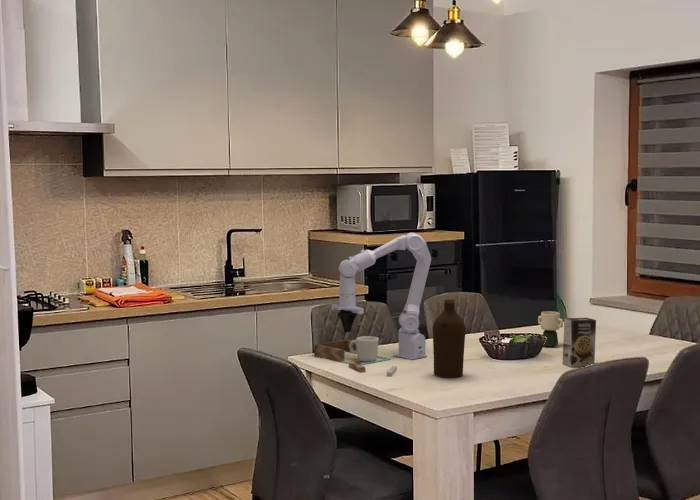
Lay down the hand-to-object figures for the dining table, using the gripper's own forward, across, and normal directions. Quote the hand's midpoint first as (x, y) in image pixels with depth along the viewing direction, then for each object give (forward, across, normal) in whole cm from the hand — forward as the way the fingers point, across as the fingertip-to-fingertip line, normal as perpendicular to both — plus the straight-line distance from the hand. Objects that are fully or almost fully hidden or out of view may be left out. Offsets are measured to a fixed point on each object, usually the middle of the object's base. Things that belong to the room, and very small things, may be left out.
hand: (347, 331), depth 318 cm
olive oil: (+9, +43, +5) cm, 44 cm away
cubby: (+9, -1, 0) cm, 9 cm away
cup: (+9, +8, 0) cm, 12 cm away
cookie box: (+10, +63, +50) cm, 81 cm away
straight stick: (+9, +29, -7) cm, 31 cm away
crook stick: (+9, +17, -10) cm, 22 cm away
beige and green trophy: (+10, +37, +71) cm, 80 cm away
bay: (+9, +9, 0) cm, 13 cm away
